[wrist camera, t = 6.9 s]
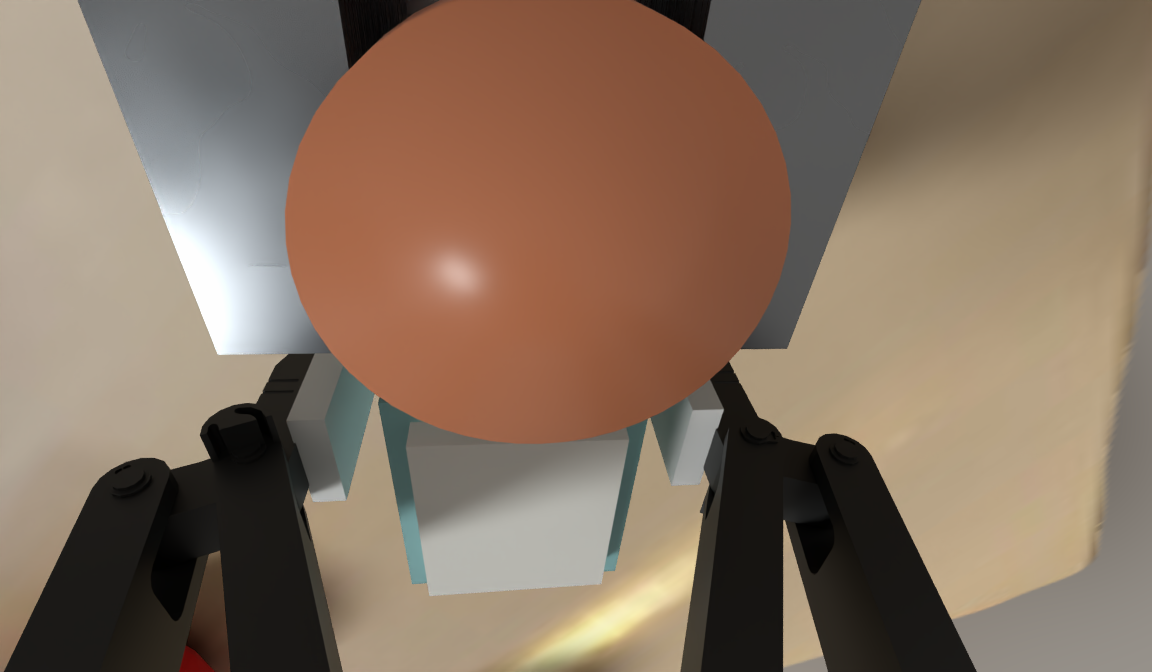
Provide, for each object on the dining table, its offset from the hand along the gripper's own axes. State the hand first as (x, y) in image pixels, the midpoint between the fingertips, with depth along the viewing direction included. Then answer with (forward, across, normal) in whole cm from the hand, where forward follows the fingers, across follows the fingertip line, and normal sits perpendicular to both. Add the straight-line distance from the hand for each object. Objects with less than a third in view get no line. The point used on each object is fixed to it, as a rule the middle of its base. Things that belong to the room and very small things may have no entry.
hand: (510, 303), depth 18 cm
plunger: (-6, 0, +8) cm, 10 cm away
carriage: (+2, 0, 0) cm, 2 cm away
